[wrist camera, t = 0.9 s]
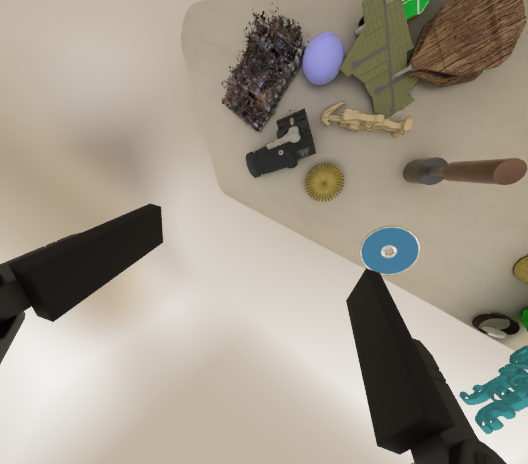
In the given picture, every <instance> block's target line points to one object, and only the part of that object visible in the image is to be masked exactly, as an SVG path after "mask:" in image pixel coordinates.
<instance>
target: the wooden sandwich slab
mask: <svg viewBox="0 0 528 464" xmlns="http://www.w3.org/2000/svg"><path fill="white" fill-rule="evenodd" d="M525 23H526V17H525V11H524V5H523V0H449V1H448V2H447V3H446V4H445V5H444V6H443V7H442V8H441V9H440V11H439V12H438V13H437V14H436V15H435V16H434V17H433V18H432V19H431V20H430V21H429V22H428V23H427V24H426V25H425V26H424V27H423V29H422V31H421V34H420V36H419V38H418V41H417V44H416V46H415V49H414V51H413V54H412V57H411V59H410V62H409V63H408V64H407V65H406V66H405V69H403V70H401V71H400V72H398V73H396V74H395V75H394V76H393V77H392V78H396V77H398V76H400V75H402V74H404V73H405V72H407V75H408V76H416V77H418V78H421V79H423V80H425V81H427V82H429V83H432V84H434V85H437V86H439V87H443V86H448V85H453V84H458V83H463V82H469V81H472V80H474V79H476V78H477V77H478V76H479V75H480V74H481V73H482V72H483V70H485V69H490V68H494V67H497V66H499V65H501V64H502V63H503V62H504V61H505V60H506V59H507V58H508V57H509V56H510V55H511V53H512V51H513V49H514V47H515V44H516V42H517V40H518V38H519V36H520V34H521V32H522V30H523V28H524V25H525Z"/></svg>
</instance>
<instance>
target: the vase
mask: <svg viewBox="0 0 528 464" xmlns="http://www.w3.org/2000/svg"><path fill="white" fill-rule="evenodd" d="M514 274H515V276H516V277H517V278H518V279H519V280H521V281H524V282H526V283H528V257H525V258H523V259H522V260H520V261H519V262H518V263H517V264H516V266H515V268H514Z"/></svg>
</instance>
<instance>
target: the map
mask: <svg viewBox="0 0 528 464" xmlns="http://www.w3.org/2000/svg"><path fill="white" fill-rule="evenodd" d="M362 7H363V15H364V23H365V26H364V28H363V30H362V32H361V33H360V35H359V37H358V38H357V40H356V42H355V43H354V45H353V47H352V48H351V50H350V52H349V53H348V55H347V57H346V58H345V60H344V62H343V63H342V65H341V67H340V68H339V70H341V71H342V72H343V73H344V74H345V75H347V76H348V77H349V76H350V75H351V74H353V75H354V76H355V77H357V78H358V79H359V80H360V81H362V82H363V83H364V85H365V87H366V89H367V91H368V93H369V95H371V96H372V100H373V106H374V112H375V114H376V113H379V114H381V115H384V119H386V118H387V117H389V116H391V115H392V114H394V113H395V112H396V111H398V110H401V109H403V108H404V107H405V106H407V105H408V104H410V103H411V102H412V101H414V99H413V98H412V97H411V96H410V95H409V94H408V93H409V92H410V90H411V89H412V88H413V86H414V85H415V84H416V82H417V81H418V80H419V79H420V78H418V77H416V76H408V75H407V72H405V73H404V74H402V75H400V76H398V77H396V78H392V77H393V76H394V75H395V74H396V73H398V72H400V71H401V70H403V69H405V66H406V65H407V51H409V50H411V49H413V48H414V45H413V43H412V41H411V37H410V33H409V28H408V24H407V20H406V16H405V11H404V7H403V3H402V0H394V1H393V2H391V3H390V4H388V5H387V6H386V0H363V2H362ZM365 30H366V32H365Z"/></svg>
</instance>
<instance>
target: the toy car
mask: <svg viewBox="0 0 528 464" xmlns="http://www.w3.org/2000/svg"><path fill="white" fill-rule="evenodd" d="M429 2H430V0H402V3H403V7H404V11H405V16H406V20H407V21H408V20H411V19H413V18H415V17H417V16H419V15H420V14H421V13H422V12H423V10H424V9H425V8H426V6H427V5H428V3H429ZM364 26H365V23H364V16H363V17H362V19H361V20H360V22H359V28H358V29H357V31H355V32H354V33H355V34H356V35H360V33H361V32H362V30H363V28H364ZM365 32H366V30H365Z"/></svg>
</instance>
